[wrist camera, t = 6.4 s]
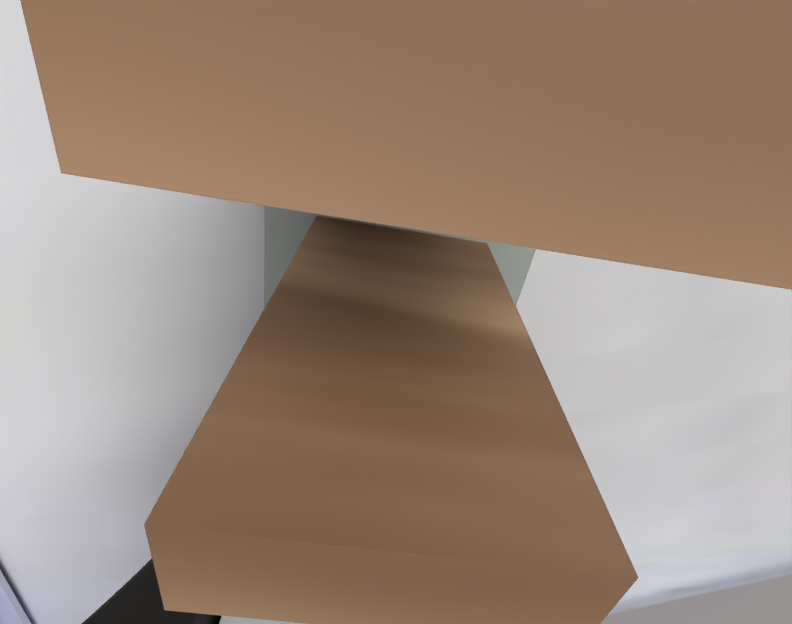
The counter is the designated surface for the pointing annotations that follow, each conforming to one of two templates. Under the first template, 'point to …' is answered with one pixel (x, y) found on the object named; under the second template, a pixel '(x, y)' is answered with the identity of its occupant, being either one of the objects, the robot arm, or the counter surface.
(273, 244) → the rubber mat
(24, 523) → the counter surface
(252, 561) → the domino
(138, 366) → the counter surface
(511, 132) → the domino
